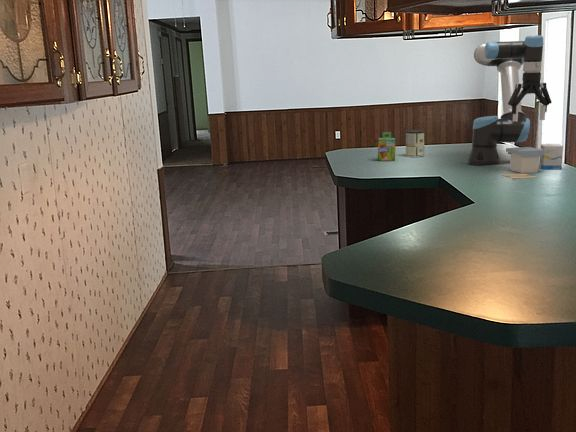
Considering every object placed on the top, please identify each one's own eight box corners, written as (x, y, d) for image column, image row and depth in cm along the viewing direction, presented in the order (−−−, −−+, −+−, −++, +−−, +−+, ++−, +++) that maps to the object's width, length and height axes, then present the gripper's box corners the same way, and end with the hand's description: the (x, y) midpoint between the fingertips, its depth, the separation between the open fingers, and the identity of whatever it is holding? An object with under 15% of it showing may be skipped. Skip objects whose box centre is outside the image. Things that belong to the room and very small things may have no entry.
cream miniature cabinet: (409, 154, 354) (409, 129, 351) (426, 155, 349) (427, 129, 346) (402, 156, 346) (402, 131, 343) (420, 157, 340) (420, 131, 337)
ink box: (561, 171, 287) (563, 145, 285) (542, 170, 289) (544, 145, 286) (557, 168, 296) (559, 143, 293) (538, 168, 297) (540, 143, 295)
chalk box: (377, 161, 331) (378, 133, 328) (377, 158, 340) (377, 131, 337) (395, 161, 330) (396, 133, 326) (394, 158, 339) (395, 131, 335)
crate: (509, 171, 290) (511, 151, 288) (525, 170, 292) (526, 150, 290) (522, 174, 281) (523, 154, 279) (538, 173, 282) (539, 153, 280)
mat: (501, 176, 277) (501, 174, 276) (523, 175, 279) (523, 173, 279) (513, 180, 267) (513, 178, 267) (536, 178, 269) (537, 176, 269)
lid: (505, 154, 289) (506, 148, 288) (529, 153, 292) (529, 147, 291) (520, 157, 278) (520, 151, 277) (544, 156, 280) (545, 149, 279)
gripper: (511, 72, 269) (508, 122, 275) (562, 71, 275) (558, 120, 280) (501, 72, 277) (499, 121, 282) (551, 71, 282) (547, 118, 287)
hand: (528, 120), depth 281 cm, fingers open, 13 cm apart
